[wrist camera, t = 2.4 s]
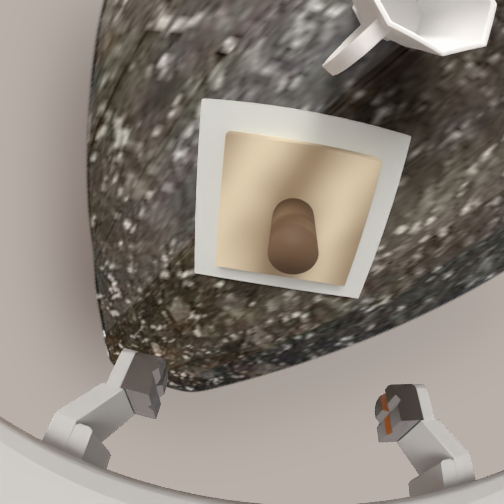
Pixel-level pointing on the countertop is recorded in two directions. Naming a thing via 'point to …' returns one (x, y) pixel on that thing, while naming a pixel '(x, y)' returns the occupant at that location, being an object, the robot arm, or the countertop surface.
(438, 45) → the cup
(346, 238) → the lid
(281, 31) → the countertop surface
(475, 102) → the countertop surface
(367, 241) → the mat
